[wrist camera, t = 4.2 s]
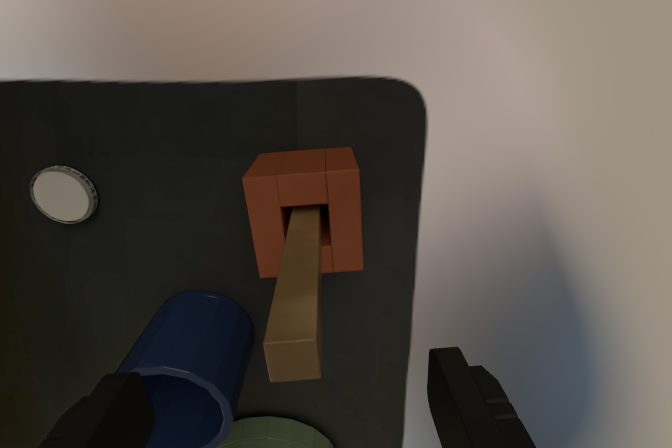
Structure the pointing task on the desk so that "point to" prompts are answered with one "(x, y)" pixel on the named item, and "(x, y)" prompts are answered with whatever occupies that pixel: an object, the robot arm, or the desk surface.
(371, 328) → the desk surface
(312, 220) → the stick
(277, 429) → the bowl
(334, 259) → the holder
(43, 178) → the grey bottle cap
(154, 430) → the crock
